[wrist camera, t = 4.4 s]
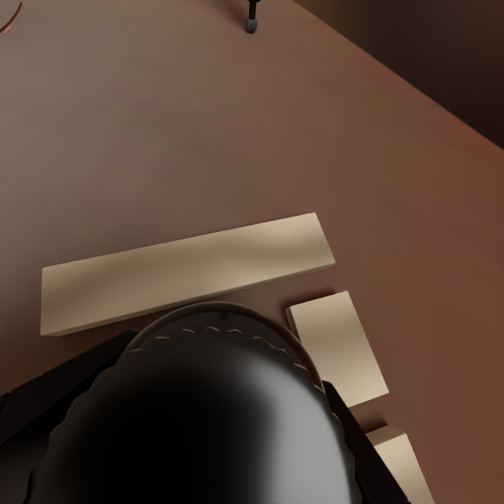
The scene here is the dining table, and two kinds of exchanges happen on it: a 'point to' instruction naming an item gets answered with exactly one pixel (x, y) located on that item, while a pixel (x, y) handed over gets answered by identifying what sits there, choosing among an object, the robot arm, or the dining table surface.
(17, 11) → the figurine
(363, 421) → the dining table surface
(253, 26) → the microphone
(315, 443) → the supplement bottle
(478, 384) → the dining table surface
